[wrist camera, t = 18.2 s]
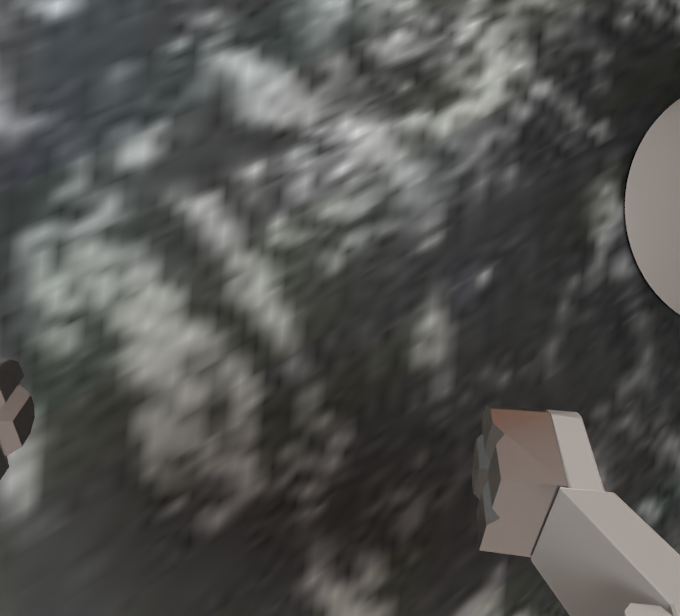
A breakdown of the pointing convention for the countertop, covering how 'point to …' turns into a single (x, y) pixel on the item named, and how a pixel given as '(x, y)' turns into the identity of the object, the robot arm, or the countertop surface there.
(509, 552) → the robot arm
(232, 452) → the countertop surface
